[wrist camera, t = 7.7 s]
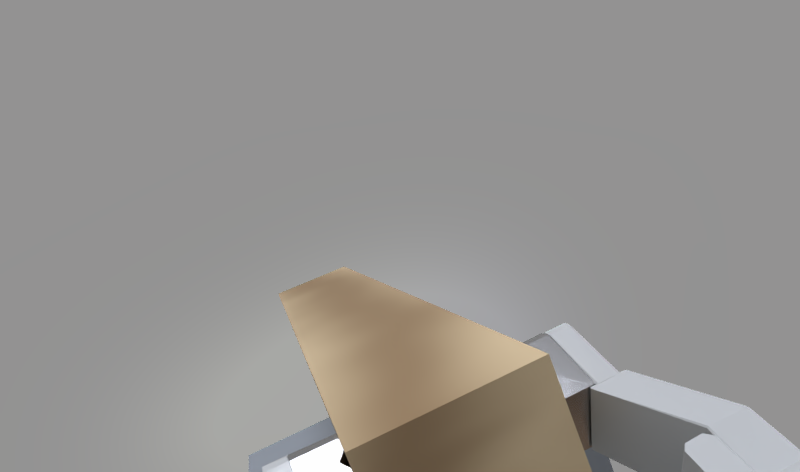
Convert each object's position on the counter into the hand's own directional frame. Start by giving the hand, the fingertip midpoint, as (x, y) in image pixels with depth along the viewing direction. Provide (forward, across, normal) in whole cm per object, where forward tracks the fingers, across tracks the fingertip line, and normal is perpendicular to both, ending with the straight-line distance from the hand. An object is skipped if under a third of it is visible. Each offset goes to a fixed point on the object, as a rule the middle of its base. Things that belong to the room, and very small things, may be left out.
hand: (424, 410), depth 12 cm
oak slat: (+6, 0, +6) cm, 8 cm away
